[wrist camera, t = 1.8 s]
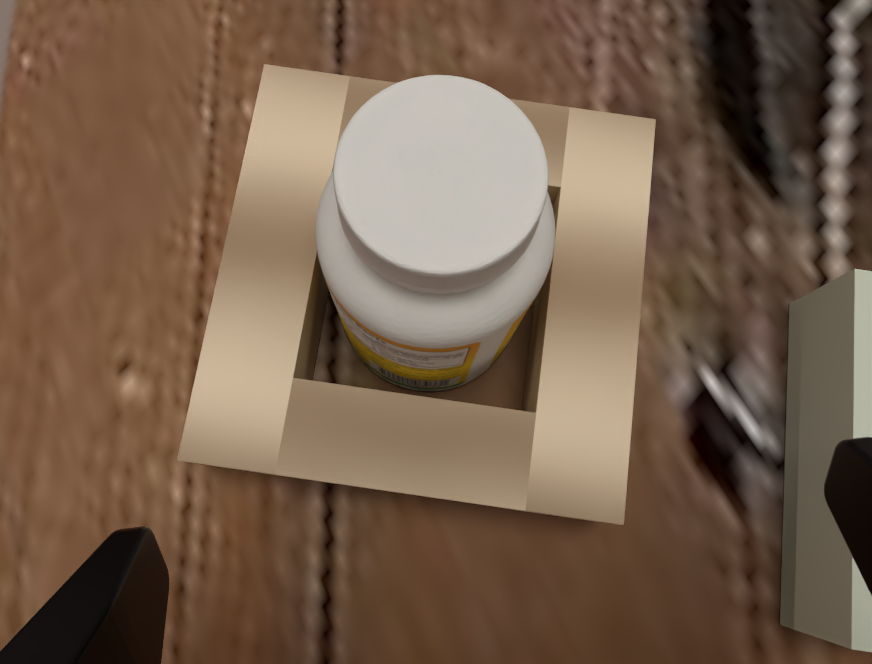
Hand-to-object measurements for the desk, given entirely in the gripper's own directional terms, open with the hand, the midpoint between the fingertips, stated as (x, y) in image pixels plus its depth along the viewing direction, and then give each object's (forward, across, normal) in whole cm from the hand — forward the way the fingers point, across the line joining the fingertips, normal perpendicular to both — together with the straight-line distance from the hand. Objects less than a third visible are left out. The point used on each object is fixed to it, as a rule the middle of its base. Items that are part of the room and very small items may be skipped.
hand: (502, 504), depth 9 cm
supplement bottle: (+13, 0, +4) cm, 14 cm away
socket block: (+13, 0, +4) cm, 13 cm away
